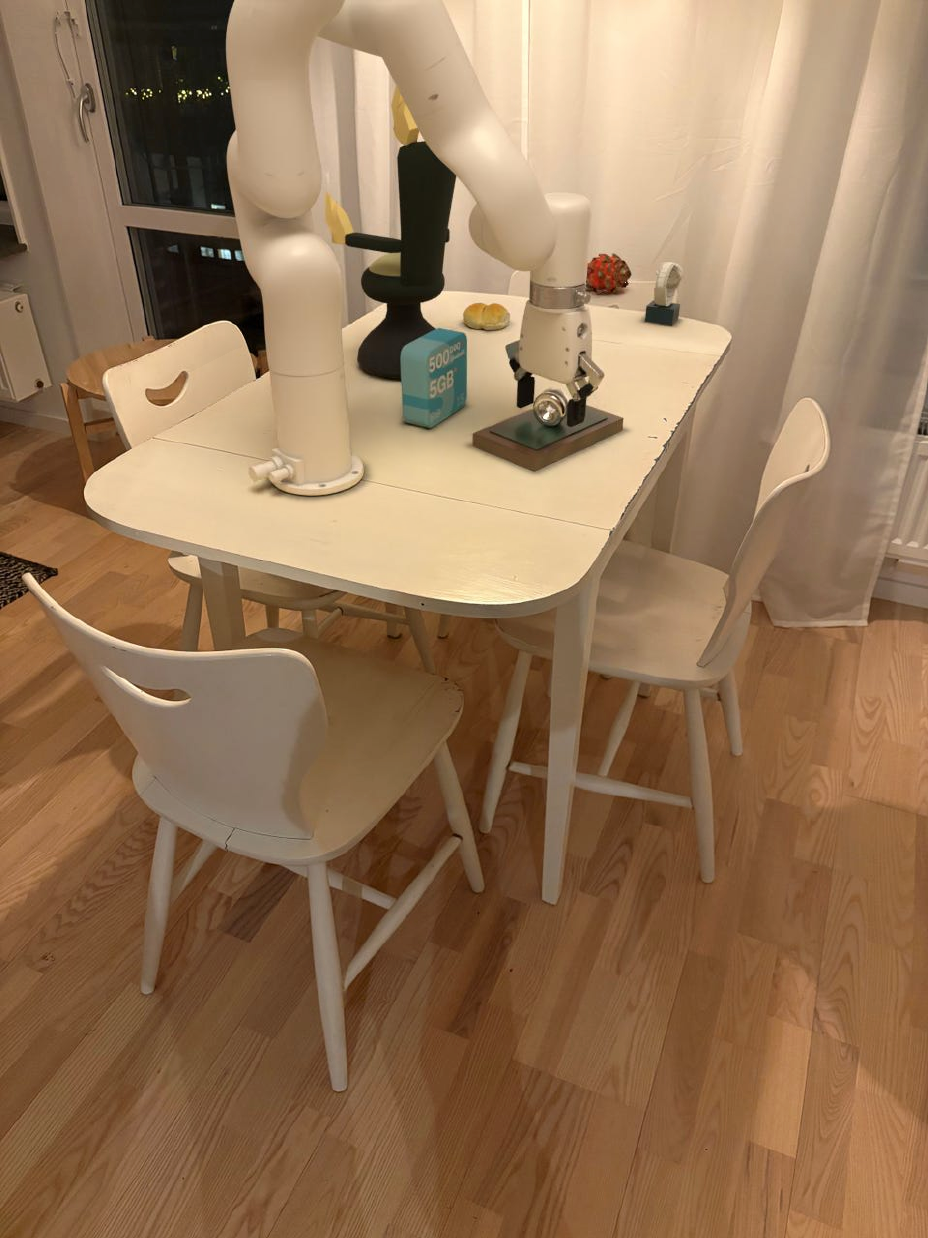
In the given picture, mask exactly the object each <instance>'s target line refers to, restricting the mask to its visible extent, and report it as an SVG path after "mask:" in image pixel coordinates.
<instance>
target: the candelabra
mask: <svg viewBox="0 0 928 1238" xmlns="http://www.w3.org/2000/svg"><path fill="white" fill-rule="evenodd" d="M390 108H391V112H392V118H393V133H394V135H395V138H396V140H397V141H398V142H399V143H400V144H401V146H400V147H399V149H398V152H397V157H396V161H397V182H398V200H399V201H398V203H399V221H400V239H399V238H395V237H388V236H383V235H376V234H369V233H363V232H355V231H354V229H353V226H352V223H351V220H350V218H349V216H348V213H347V212H346V211H345V210H344V208H343V207H342V206H341V205H340V204H339V203H338V201H335V200H334V199H333V197H332V195H331V194H330V193H329V192H328V190H325V195H324V196H325V197H324V198H325V200H324V203H325V204H324V205H325V208H324V211H325V212H324V216H325V217H324V218H325V219H324V220H325V221H324V222H325V223H326V225H327V227H328V229H329V231H330V235H331V243H332V244H335V245H340V246H341V245H346V246H347V247H348V248H349V247H350V248H355V249H361V250H366V251H374V252H380V253H386V254H384V255H381V256H379V257H378V258H376V259H375V260H374V261H373V262H372V263H371V264H370V265H369V266H367V267H366V269H365V270H364V271H363V272H362V275H361V277H360V286H361V289H362V292H363V293H365V295H366V296H367V297H368V298H370V299H371V300H374V301H376V302H378V303H382V304H386V312H385V316H384V318H383V319H382V320H381V321H380V323H378V324H377V326H375V327H374V328H373V329H372V330H371V331H370V332H369V333H368V335H366V336H365V337H364V339H363V341H362V342H361V343H360V346H359V348H358V349H357V357H356V362H357V363H358V364H359V366H361V367H362V369H364V371H365V372H367V373H369V374H372V375H374V376H376V377H377V376H378V377H382V378H386V379H397V380H401V352H402V349H403V348H404V346H405V345H407V344H409V343H411V342H412V341H414V340H416V339H418V338H420V337H422V336H424V335H426V334H428V333H430V332H432V331H434V330H435V329H437V328H436V327H434V326H433V325H432V324H431V323H430V322H429V321H428V320H427V319H426V318H425V317H424V315H423V312H422V308H421V307H422V304H424V303H427V302H430V301H432V300H434V299H436V298H437V297H438V296H440V295H441V293H442V292H443V291H444V288H445V285H446V283H445V281H446V279H445V276H444V273H443V271H444V260H445V250H446V244H447V243H449V242H450V237H451V235H450V233H451V232H450V229H449V223H450V216H451V212H452V211H451V210H452V205H453V198H454V193H455V188H456V181H457V176H456V175H455V174H454V173H453V172H452V171H451V170H450V169H449V168H448V167H447V166H446V165H445V164H444V163H442V162H441V161H440V160H439V159H438V157H437V156H436V155H435V154H434V153H433V151H432V150H431V149H430V147H429V146H428V145H427V144H426V142H425V141H424V140H423V141H418V139H419V134H420V131H419V129H418V127H417V125H416V123H415V121H414V119H413V117H412V115H411V113H410V111H409V109H408V107H407V105H406V103H405V101H404V99H403V97H402V95H401V94H400V92H399V90H398V88H397V86H396V85H395V88H394V91H393V97H392V101H391V107H390Z"/></svg>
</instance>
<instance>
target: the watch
mask: <svg viewBox="0 0 928 1238" xmlns="http://www.w3.org/2000/svg"><path fill="white" fill-rule="evenodd" d="M655 275H656V278H655V285H654V289H653V291H654V293H653V300H651V302H649V303H648V304H647V305H646V307H645V315H644V323H648V324H655V325H663V326H667V327H668V326H669V327H672V326H673V325H674V324H676V323H677V322H678V321H679V316H680V309H681V308H680V307H681V303H676V302H673V300H674V298H675V294H676V290H677V289H678V288H679V286H680V284H681V282H682V280H683V278H684V276H685V273H684V270H683V267H681V266H680V265H679V264H678V263H676V262H672V261H666V262H664V261H663V262H661V264H660V265H659V268H658V270H656V271H655Z"/></svg>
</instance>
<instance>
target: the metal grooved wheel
mask: <svg viewBox="0 0 928 1238" xmlns="http://www.w3.org/2000/svg"><path fill="white" fill-rule="evenodd" d="M570 399H571V398H570V397H569V395H568V394H567V392H565V391H564V390H562V389H561V388H559V387H548V388H545V389H544V390H543V391H541V393H540V394H539V395H538V396H536V397H535V398H534V403H533V404H532V409H533V413H534V416H535V418H536V419H537V420H538V421H539V422H540V423H541V424H543V425H545V426H550V427H551V426H556V425H558V424H560V423H561V422H562V421H563V420H564V419H565V418H566V417H567V413H568V401H569V400H570ZM550 403H553V404H554V405H555V406H556V409H552V408H551V407H550Z"/></svg>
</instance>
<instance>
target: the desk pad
mask: <svg viewBox="0 0 928 1238" xmlns="http://www.w3.org/2000/svg"><path fill="white" fill-rule="evenodd" d="M550 407H551V408H552V409H556V406H555V405H554V404H553V403H550ZM623 427H624V417H622V416H620V415H616V414H614V413H610V412H608V411H606V410H602V409H599V408H596V407H593V406H590V405H587V404H586V411H585V418H584V421H583V422H582V423H580V424H578V425H575V426H573V427H569V426H567V417H566V418H565V419H564V420H563V421H562V422H561V423H560V424H558V425H556V426H551V427H550V426H545V425H543V424H541V423H540V422H539V421H538V420H537V419H536V418H535V416H534V413H533V408H531V409H529V410H526V411H523V412H520V413H518V414H516V415H513V416H511V417H508V418H507V419H503V420H501V421H499V422H496V423H494V424H491V425H488V426H486V427H484V428H482V429H479V430H477V431H474V432H472V446H473V447H475V448H477V449H479V450H482V451H485V452H487V453H489V454H492V455H494V456H497V457H499V458H501V459H504V460H506V461H509V462H511V463H513V464H515V465H518V466H521V467H522V468H525V469H528V470H530V471H532V472H536V471H539V470H541V469H542V468H545V467H547V466H549V465H552V464H553V463H556V462H558V461H560V460H562V459H564V458H566V457H568V456H570V455H573V454H575V453H577V452H580V451H581V450H583V449H586V448H587V447H590V446H593V445H595V444H596V443H598V442H600V441H603V440H604V439H607V438H609V437H611V436H613V435H615V434H618V433H619V432H622V431H623Z"/></svg>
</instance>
